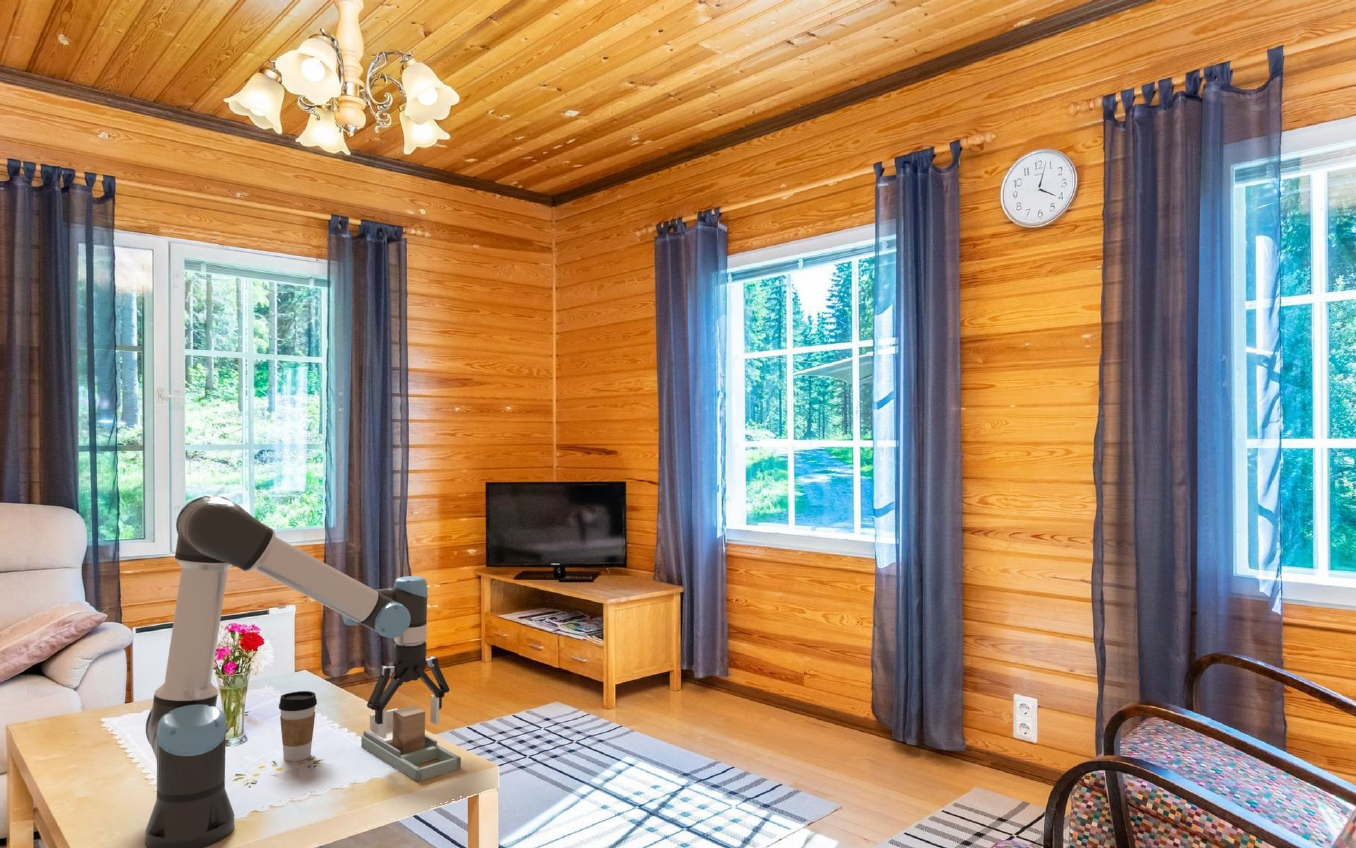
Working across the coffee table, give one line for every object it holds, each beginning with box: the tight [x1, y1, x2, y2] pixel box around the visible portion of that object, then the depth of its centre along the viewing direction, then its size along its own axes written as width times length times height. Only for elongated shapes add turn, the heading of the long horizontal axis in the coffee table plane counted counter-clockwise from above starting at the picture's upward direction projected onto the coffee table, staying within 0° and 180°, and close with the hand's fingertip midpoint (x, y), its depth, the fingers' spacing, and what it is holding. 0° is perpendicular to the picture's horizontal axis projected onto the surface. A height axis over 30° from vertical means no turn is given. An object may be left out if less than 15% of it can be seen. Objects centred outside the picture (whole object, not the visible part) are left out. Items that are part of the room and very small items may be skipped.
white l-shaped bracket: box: [367, 707, 399, 744], centre depth 214 cm, size 9×8×5 cm
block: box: [392, 705, 426, 755], centre depth 208 cm, size 6×6×11 cm
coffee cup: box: [278, 690, 318, 762], centre depth 207 cm, size 8×8×15 cm
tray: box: [360, 730, 462, 782], centre depth 208 cm, size 28×11×4 cm, turn 45°
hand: (408, 730), depth 208 cm, fingers open, 13 cm apart
